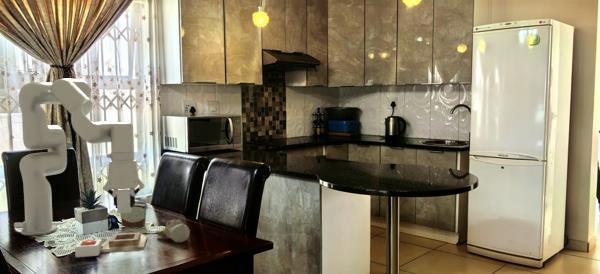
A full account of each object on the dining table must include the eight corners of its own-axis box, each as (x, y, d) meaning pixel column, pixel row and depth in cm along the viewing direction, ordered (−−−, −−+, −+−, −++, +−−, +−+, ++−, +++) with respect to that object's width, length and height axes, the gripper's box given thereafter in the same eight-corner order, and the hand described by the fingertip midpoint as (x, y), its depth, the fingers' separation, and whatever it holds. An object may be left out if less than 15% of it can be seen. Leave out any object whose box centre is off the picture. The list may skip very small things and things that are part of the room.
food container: (153, 224, 199) (152, 201, 198) (147, 228, 193) (146, 204, 192) (125, 223, 200) (125, 200, 200) (118, 227, 194) (118, 203, 194)
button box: (75, 257, 157) (75, 246, 157) (80, 250, 164) (79, 241, 163) (97, 255, 158) (97, 245, 158) (101, 249, 165) (101, 239, 165)
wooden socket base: (101, 252, 162) (101, 243, 162) (108, 240, 176) (107, 232, 175) (143, 249, 165) (143, 240, 165) (147, 238, 179) (147, 230, 179)
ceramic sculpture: (169, 222, 168) (153, 216, 180) (170, 246, 168) (154, 239, 180) (196, 218, 175) (179, 213, 186) (197, 241, 175) (180, 234, 187)
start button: (81, 249, 158) (80, 243, 158) (83, 245, 162) (83, 240, 162) (93, 248, 159) (93, 242, 159) (96, 245, 163) (95, 239, 163)
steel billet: (117, 213, 167) (116, 191, 166) (119, 210, 171) (118, 188, 170) (130, 212, 168) (129, 190, 167) (131, 209, 172) (131, 188, 171)
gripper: (95, 158, 162) (97, 210, 164) (146, 157, 166) (148, 207, 168) (99, 156, 170) (101, 206, 171) (148, 155, 174) (149, 203, 175)
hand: (124, 206), depth 169 cm, fingers closed on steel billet, 4 cm apart
